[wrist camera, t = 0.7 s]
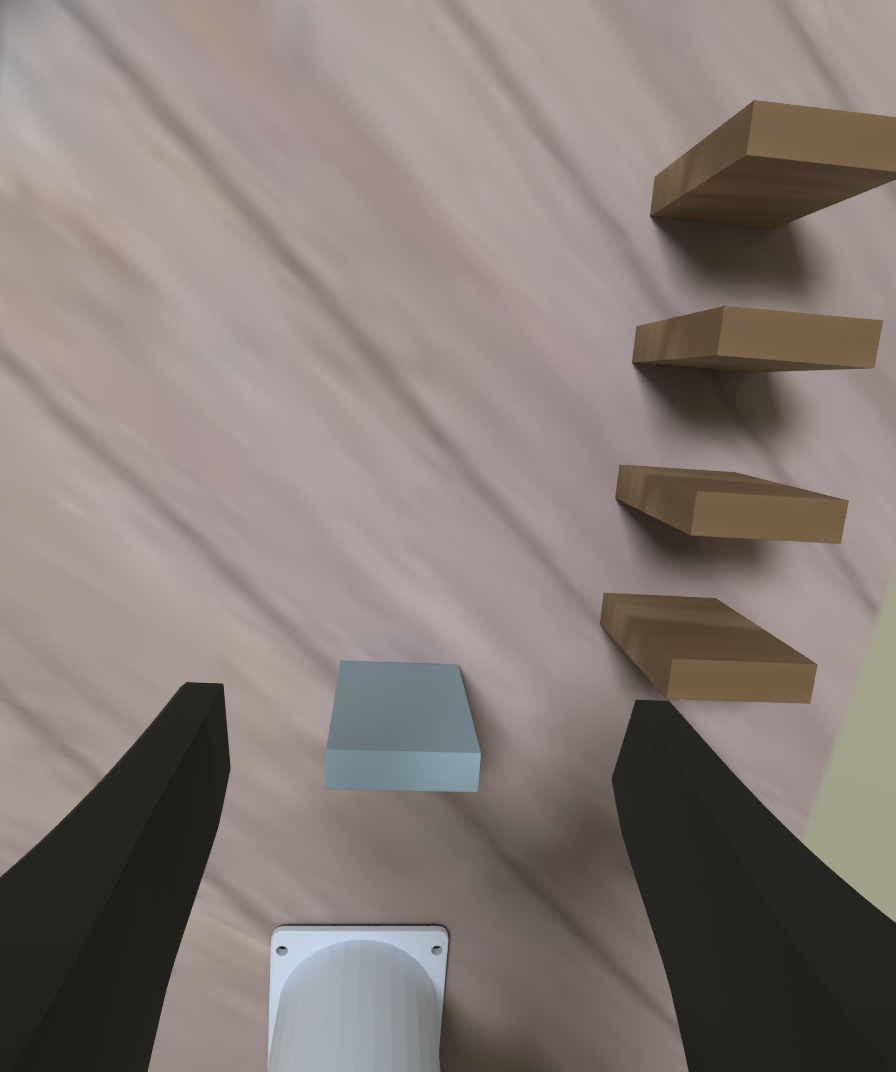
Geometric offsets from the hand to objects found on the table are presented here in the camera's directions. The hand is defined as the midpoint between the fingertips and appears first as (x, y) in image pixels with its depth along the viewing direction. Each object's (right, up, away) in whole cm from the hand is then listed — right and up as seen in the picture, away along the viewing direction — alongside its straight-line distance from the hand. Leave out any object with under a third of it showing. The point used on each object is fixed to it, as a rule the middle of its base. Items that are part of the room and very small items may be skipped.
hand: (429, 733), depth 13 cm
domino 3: (+10, +11, +16) cm, 22 cm away
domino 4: (+10, +6, +17) cm, 21 cm away
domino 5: (+9, 0, +18) cm, 21 cm away
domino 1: (-2, -3, +18) cm, 18 cm away
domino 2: (+11, +16, +15) cm, 25 cm away
